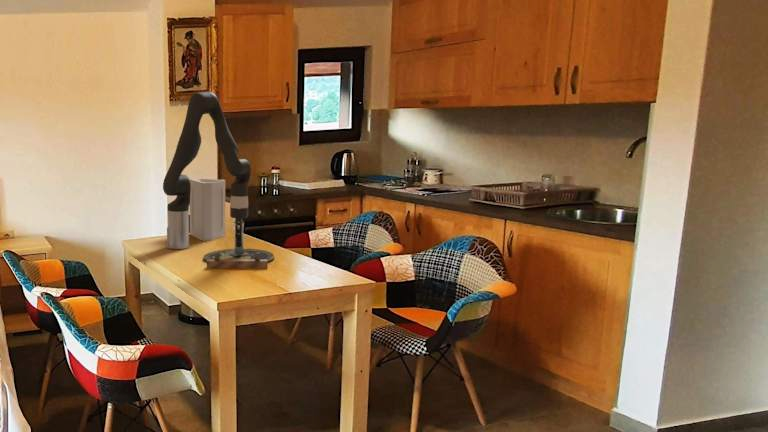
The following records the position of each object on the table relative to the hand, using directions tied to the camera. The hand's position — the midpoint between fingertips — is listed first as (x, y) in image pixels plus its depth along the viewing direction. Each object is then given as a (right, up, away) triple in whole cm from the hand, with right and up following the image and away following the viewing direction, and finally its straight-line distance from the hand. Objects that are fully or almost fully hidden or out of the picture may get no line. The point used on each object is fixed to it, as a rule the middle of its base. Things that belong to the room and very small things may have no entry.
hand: (239, 245), depth 293 cm
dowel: (0, -4, +1) cm, 4 cm away
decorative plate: (0, -6, +1) cm, 6 cm away
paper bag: (-25, +2, +48) cm, 54 cm away
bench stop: (+3, -8, -15) cm, 17 cm away
